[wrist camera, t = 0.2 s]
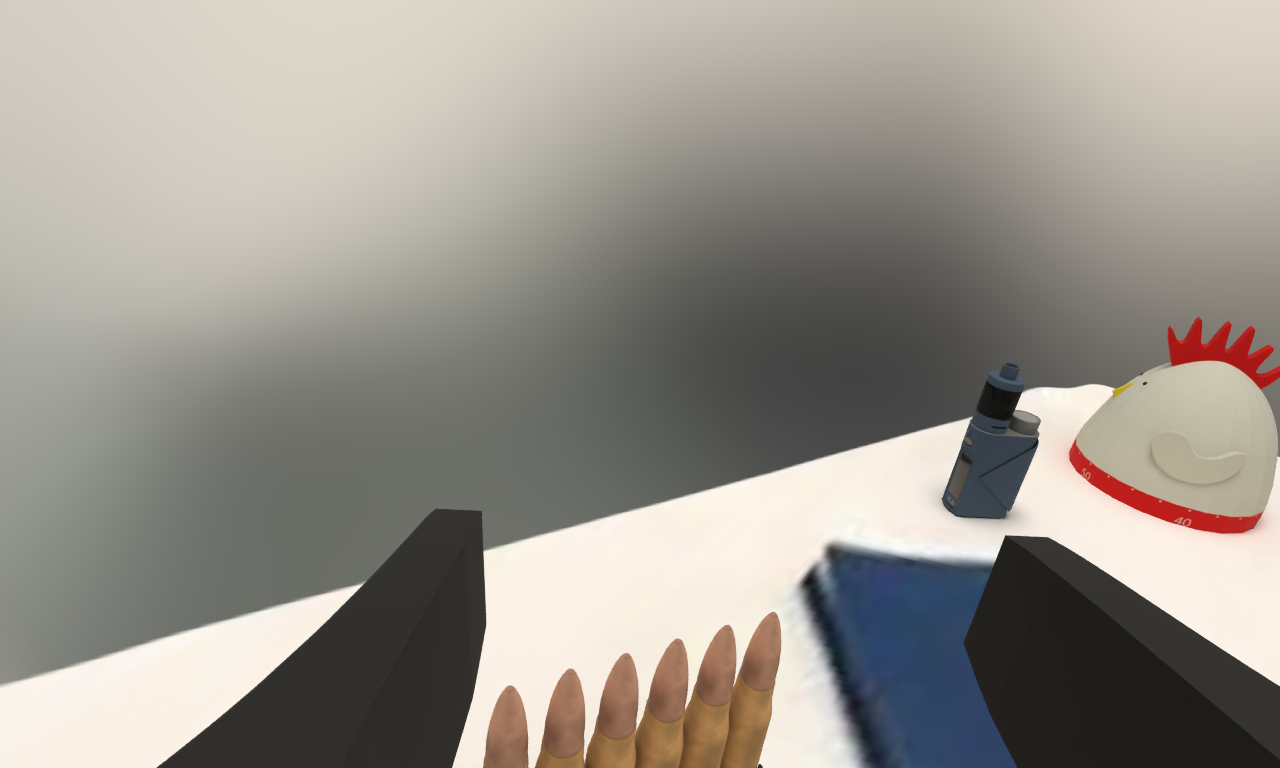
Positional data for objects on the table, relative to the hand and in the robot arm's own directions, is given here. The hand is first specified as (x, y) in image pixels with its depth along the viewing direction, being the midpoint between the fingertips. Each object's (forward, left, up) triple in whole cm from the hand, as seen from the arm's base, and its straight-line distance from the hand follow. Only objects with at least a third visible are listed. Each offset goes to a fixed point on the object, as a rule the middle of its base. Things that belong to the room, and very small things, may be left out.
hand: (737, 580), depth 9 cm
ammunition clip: (+8, 0, -21) cm, 23 cm away
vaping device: (+36, -27, -21) cm, 50 cm away
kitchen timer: (+43, -47, -22) cm, 67 cm away
